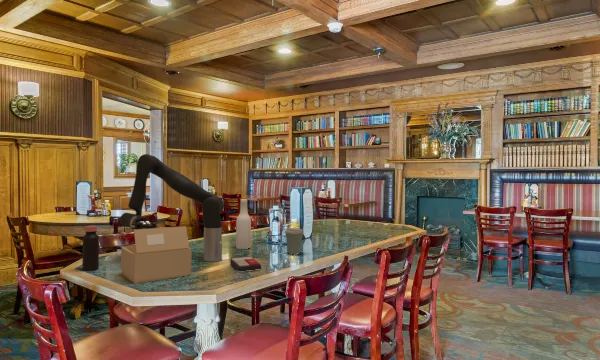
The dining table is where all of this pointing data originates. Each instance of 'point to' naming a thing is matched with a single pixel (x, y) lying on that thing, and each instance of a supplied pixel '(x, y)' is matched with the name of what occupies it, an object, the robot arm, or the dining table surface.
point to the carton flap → (161, 239)
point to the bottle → (90, 249)
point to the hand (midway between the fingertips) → (150, 227)
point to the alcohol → (243, 227)
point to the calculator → (245, 264)
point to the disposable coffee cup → (293, 240)
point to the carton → (155, 264)
